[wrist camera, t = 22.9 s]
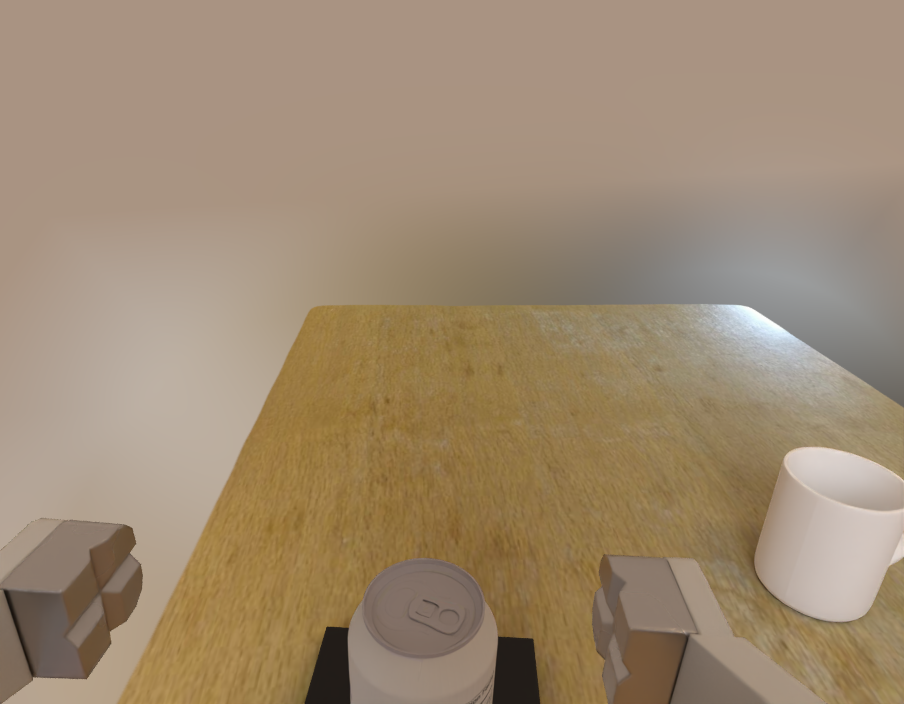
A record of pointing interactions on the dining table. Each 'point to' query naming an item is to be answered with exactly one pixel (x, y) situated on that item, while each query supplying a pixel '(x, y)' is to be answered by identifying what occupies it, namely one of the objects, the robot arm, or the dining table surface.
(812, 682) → the dining table surface
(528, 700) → the hob
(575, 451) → the dining table surface
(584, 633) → the dining table surface
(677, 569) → the robot arm
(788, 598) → the mug
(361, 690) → the beverage can
